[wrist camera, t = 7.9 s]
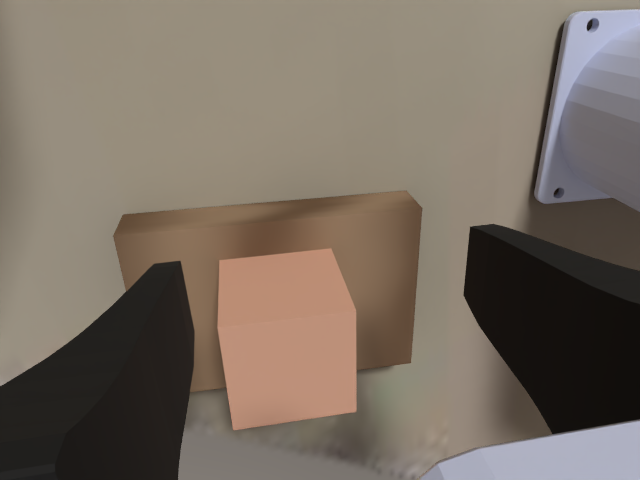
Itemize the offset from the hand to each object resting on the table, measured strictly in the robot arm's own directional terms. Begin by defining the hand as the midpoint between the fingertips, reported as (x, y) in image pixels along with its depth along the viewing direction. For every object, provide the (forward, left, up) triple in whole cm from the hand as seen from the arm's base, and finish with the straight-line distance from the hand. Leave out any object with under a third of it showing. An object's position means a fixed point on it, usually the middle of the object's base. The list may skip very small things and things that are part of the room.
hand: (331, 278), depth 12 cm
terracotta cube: (+1, +5, -7) cm, 9 cm away
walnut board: (+1, +6, -9) cm, 11 cm away
